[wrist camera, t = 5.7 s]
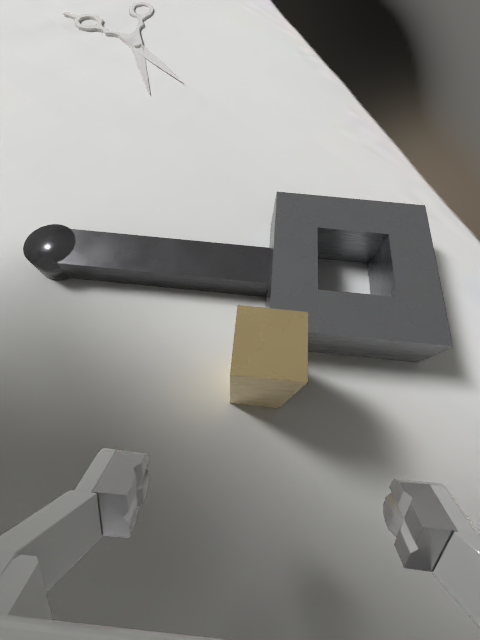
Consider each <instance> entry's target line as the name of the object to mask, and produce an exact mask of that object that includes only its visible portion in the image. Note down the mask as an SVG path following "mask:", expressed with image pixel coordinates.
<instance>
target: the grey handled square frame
mask: <svg viewBox="0 0 480 640" xmlns="http://www.w3.org/2000/svg"><path fill="white" fill-rule="evenodd" d="M23 251H24V255H25V257H26V258H27V259H28V260H29V261H30V262H31V263H32V264H33V265H34V266H35V267H36V268H37V269H38V270H39V271H40V272H41V273H42V274H44V275H45V276H46V277H48V278H50V279H53V280H64V279H68V278H77V279H87V280H98V281H108V282H118V283H129V284H139V285H149V286H160V287H170V288H181V289H191V290H201V291H212V292H222V293H232V294H243V295H253V296H263V297H266V308H272V309H282V310H292V311H303V312H308V351H310V352H320V353H331V354H341V355H351V356H361V357H371V358H381V359H392V360H402V361H412V362H421V361H423V360H425V359H427V358H429V357H431V356H433V355H436V354H438V353H440V352H442V351H444V350H446V349H448V348H450V347H452V346H453V345H452V340H451V335H450V330H449V325H448V320H447V314H446V309H445V304H444V299H443V294H442V289H441V284H440V279H439V274H438V269H437V264H436V259H435V254H434V248H433V243H432V238H431V233H430V228H429V223H428V218H427V213H426V208H425V205H414V204H403V203H392V202H382V201H371V200H360V199H349V198H339V197H328V196H317V195H306V194H296V193H285V192H277V194H276V199H275V205H274V211H273V216H272V222H271V233H270V248H265V247H254V246H244V245H233V244H223V243H212V242H202V241H191V240H181V239H170V238H159V237H149V236H138V235H128V234H117V233H107V232H96V231H86V230H75V229H69V228H68V227H66V226H63V225H57V224H53V225H47V226H43V227H41V228H39V229H37V230H35V231H34V232H33V233H32V234H30V235H29V237H28V238H27V239H26V241H25V243H24V248H23ZM318 258H324V259H335V260H345V261H356V262H366V263H368V269H369V281H370V292H371V294H360V293H350V292H339V291H329V290H319V289H318Z"/></svg>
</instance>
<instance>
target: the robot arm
mask: <svg viewBox="0 0 480 640" xmlns="http://www.w3.org/2000/svg"><path fill="white" fill-rule="evenodd" d="M148 463H149V458H148V454H147V453H140V452H133V451H125V450H116V449H108V448H102V449H101V450H100V451H99V452H98V453H97V455H96V457H95V458H94V460H93V461H92V463H91V464H90V466H89V468H88V469H87V471H86V472H85V474H84V476H83V477H82V479H81V480H80V482H79V483H78V485H77V487H76V488H75V490H69V491H67V492H66V493H64V494H63V495H61V496H60V497H58V498H57V499H55V500H54V501H52V502H51V503H49V504H48V505H46V506H45V507H43V508H41V509H40V510H38V511H37V512H35V513H34V514H32V515H31V516H29V517H28V518H26V519H25V520H23V521H22V522H20V523H19V524H17V525H16V526H14V527H13V528H11V529H10V530H8V531H7V532H5V533H4V534H2V535H1V536H0V640H226V639H217V638H208V637H199V636H191V635H182V634H173V633H164V632H155V631H146V630H138V629H129V628H120V627H111V626H102V625H93V624H85V623H76V622H67V621H58V620H51V619H52V615H51V610H50V606H49V602H48V598H47V594H46V592H47V591H48V590H50V589H51V588H52V587H53V586H54V585H55V584H56V583H57V582H58V581H59V580H60V579H61V578H62V577H63V576H64V575H65V574H66V573H67V572H68V571H69V570H70V569H71V568H72V567H73V566H74V565H75V564H76V563H77V562H78V561H79V560H80V559H81V558H82V557H83V556H84V555H85V554H86V553H87V552H88V551H89V550H90V549H91V548H92V547H93V546H94V545H95V544H96V543H97V542H98V541H99V540H100V539H101V538H102V536H111V537H124V538H130V536H131V534H132V531H133V529H134V526H135V523H136V521H137V518H138V507H139V506H140V505H141V504H143V502H144V499H145V496H146V493H147V489H148V484H149V471H148V470H147V469H146V468H147V465H148ZM389 488H390V490H391V492H392V493H391V494H389V495H388V496H386V497H385V501H384V504H383V514H384V518H385V522H386V525H387V527H388V530H389V531H390V532H391V533H392V534H393V535H394V536H395V537H396V540H395V544H394V545H395V547H396V550H397V552H398V555H399V557H400V559H401V562H402V564H403V567H404V568H408V569H415V570H423V571H430V572H433V575H434V576H435V577H436V578H437V579H438V580H439V582H440V583H441V584H442V585H443V586H444V587H445V588H446V590H447V591H448V592H449V593H450V594H451V595H452V596H453V598H454V599H455V600H456V601H457V602H458V603H459V604H460V606H461V607H462V608H463V609H464V610H465V611H466V613H467V614H468V615H469V616H470V617H471V618H472V619H473V621H474V622H475V623H476V624H477V625H478V626H479V627H480V534H477V533H476V531H475V530H474V528H473V527H472V525H471V524H470V522H469V521H468V519H467V518H466V516H465V515H464V513H463V512H462V510H461V509H460V507H459V506H458V504H457V503H456V501H455V500H454V498H453V497H452V495H451V494H450V492H449V491H448V489H447V488H446V487H445V486H444V485H443V484H440V483H430V482H421V481H410V480H399V479H394V480H393V481H392V482H391V484H390V487H389Z"/></svg>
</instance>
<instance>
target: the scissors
mask: <svg viewBox="0 0 480 640" xmlns="http://www.w3.org/2000/svg"><path fill="white" fill-rule="evenodd" d="M139 6H146V7H148V8H149V9H150V11H149V12H148V13H147V14H143V15H139V14H137V13H135V12H134V10H135V8H136V7H139ZM129 13H130V16H132V17H135V18H137V19H138V21H139V24H138V26H137V27H136V29H135V30H134V31H133V32H132V33H131V35H126V34H122V33H118V32H113V31H110V30H107V29H105V28H104V27H103V26H102V25H103V19H102V18H100V17H98V16H95V15H89V14H88V15H81V16H77V15H74V14H71V13H69V12H64V13H63V14H64V16H65V17H68V18H71V19H74V22H75V26H76V27H77V28H78V29H79V30H82V31H89V32H92V31H97V32H102V33H104V34H105V35H106V36H113V37H117V38H119V39H120V40H122V41H123V42H124V43H125V44H126V45H128V46H129V47H130V48H131V49H132V50H133V54H134V57H135V60H136V63H137V66H138V68H139V71H140V73H141V76H142V78H143V81H144V83H145V86H146V88H147V90H148V92H149V94H150V89H149V82H148V75H147V70H146V61H145V58H146V59H148V60H149V61H151V62H152V63H153V64H155V65H156V66H158V67H159V68H161V69H162V70H164V71H165V72H167V73H168V74H170V75H172V76H173V77H175V78H176V79H178V80H179V81H181V80H180V79H179V78H178V77H177V76H176V75H175V74H174V73H173V72H172V71H171V70H170V69H169V68H168V67H167V66H166V65H165V64H164V63H162V62H161V61H160V60H159V59H158V58H157V57H156V56H155V55H154V54H153V53H152V52H150V51H149V50H148V49H147V48H146V47H145V46H144V45H143V44H142V40H141V37H140V30H141V29H142V28H143V27H144V24H143V21H144V20H145V19H147V18H149V17H150V16H151V15H152V14H153V7H152V6H151V5H150V4H148V3H143V2H140V3H135V4H133V5H132V6H130V9H129ZM86 19H92V20H95V21H96V22H97V24H96V25H93V26H84V25H81V24H80V22H81V21H82V20H86ZM181 82H182V81H181ZM182 83H183V82H182Z"/></svg>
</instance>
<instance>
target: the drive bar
mask: <svg viewBox="0 0 480 640" xmlns="http://www.w3.org/2000/svg"><path fill="white" fill-rule="evenodd" d="M307 383H308V312H303V311H292V310H282V309H272V308H262V307H251V306H241V305H238V307H237V316H236V325H235V335H234V344H233V353H232V362H231V372H230V403H233V404H243V405H253V406H262V407H272V408H280V407H281V406H282V405H283V404H284V403H285V402H286V401H288V400H289V399H290V398H291V397H292V396H293V395H294V394H295V393H296V392H298V391H299V390H300V389H301V388H302V387H303V386H304V385H305V384H307Z"/></svg>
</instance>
